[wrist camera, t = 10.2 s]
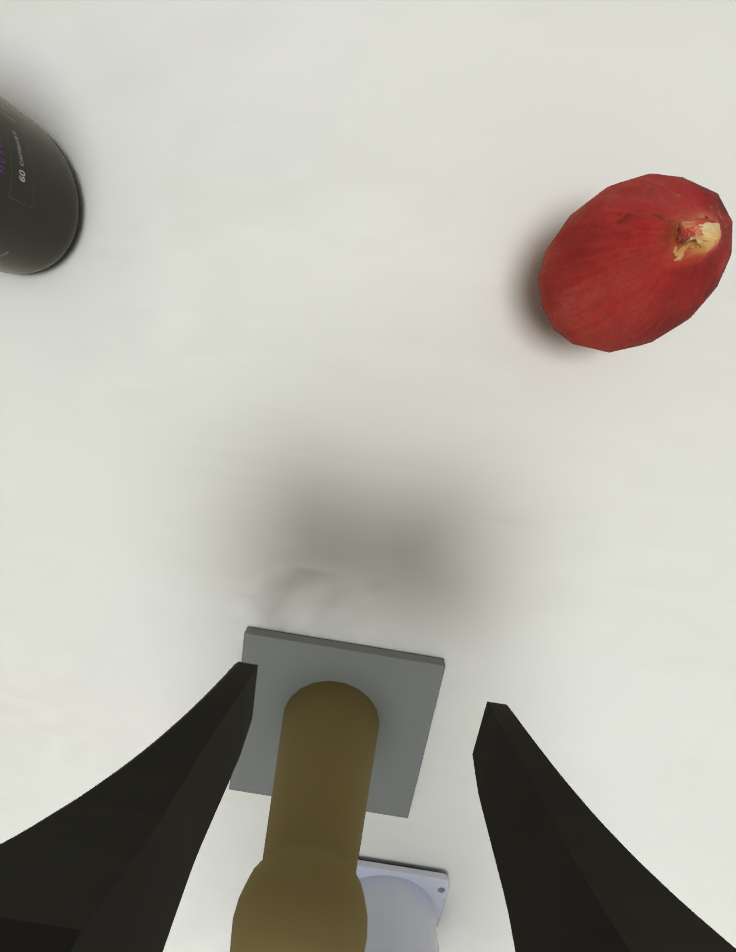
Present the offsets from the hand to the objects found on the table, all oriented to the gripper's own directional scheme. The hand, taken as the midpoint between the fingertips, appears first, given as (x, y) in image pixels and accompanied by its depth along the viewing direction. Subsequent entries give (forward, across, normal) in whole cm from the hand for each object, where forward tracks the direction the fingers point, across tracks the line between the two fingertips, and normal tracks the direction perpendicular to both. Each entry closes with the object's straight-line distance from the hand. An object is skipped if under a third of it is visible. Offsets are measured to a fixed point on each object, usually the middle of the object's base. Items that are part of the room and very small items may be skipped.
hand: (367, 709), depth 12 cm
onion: (+11, -7, -15) cm, 20 cm away
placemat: (+10, +1, +12) cm, 16 cm away
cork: (+10, +1, +11) cm, 15 cm away
